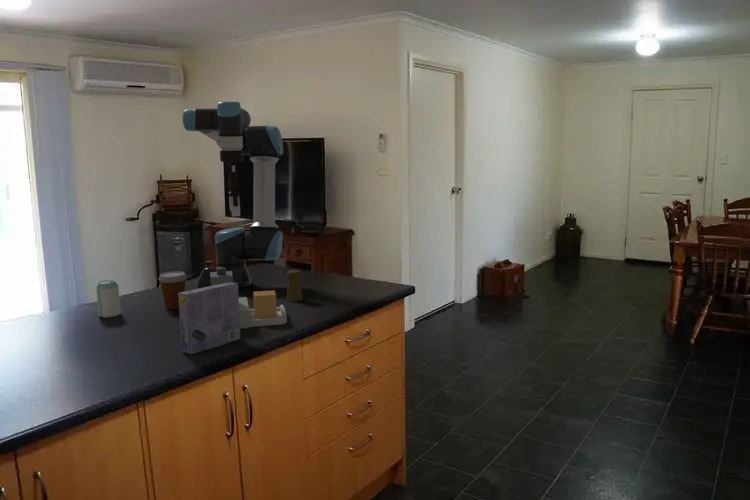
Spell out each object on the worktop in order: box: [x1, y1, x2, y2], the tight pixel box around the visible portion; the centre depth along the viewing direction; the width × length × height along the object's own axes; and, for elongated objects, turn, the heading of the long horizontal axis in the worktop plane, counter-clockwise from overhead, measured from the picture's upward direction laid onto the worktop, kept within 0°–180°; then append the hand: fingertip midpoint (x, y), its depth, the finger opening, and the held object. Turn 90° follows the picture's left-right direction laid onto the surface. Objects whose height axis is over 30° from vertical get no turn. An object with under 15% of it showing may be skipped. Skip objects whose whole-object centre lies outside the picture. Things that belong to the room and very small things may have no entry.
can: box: [95, 279, 122, 319], centre depth 217 cm, size 7×7×12 cm
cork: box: [286, 269, 304, 302], centre depth 236 cm, size 6×6×11 cm
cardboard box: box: [252, 289, 277, 320], centre depth 211 cm, size 6×7×8 cm
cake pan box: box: [178, 283, 241, 356], centre depth 186 cm, size 19×5×18 cm, turn 141°
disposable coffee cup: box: [158, 271, 187, 310], centre depth 228 cm, size 10×10×12 cm
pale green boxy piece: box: [210, 267, 288, 330], centre depth 209 cm, size 16×26×18 cm, turn 104°
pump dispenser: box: [196, 266, 216, 289], centre depth 224 cm, size 10×10×15 cm
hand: (235, 213), depth 214 cm, fingers open, 13 cm apart
